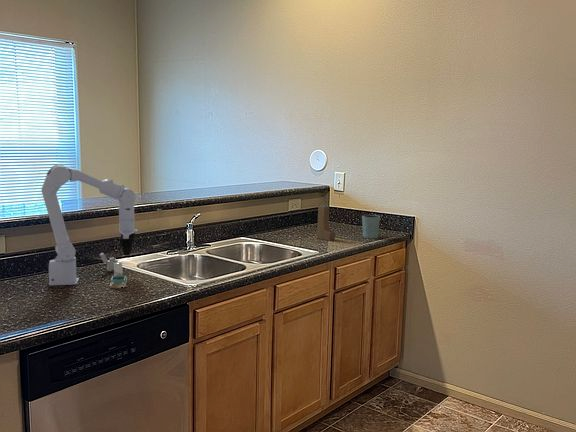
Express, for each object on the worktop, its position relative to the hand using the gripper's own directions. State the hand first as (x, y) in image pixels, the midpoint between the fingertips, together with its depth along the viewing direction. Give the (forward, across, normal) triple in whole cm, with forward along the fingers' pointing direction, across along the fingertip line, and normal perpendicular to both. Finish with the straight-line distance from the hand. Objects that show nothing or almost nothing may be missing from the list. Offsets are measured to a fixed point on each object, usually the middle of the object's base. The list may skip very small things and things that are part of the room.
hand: (127, 253), depth 219 cm
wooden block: (+10, +64, -100) cm, 119 cm away
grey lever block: (+10, +9, +8) cm, 16 cm away
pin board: (+9, -11, +3) cm, 15 cm away
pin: (+8, -11, +3) cm, 14 cm away
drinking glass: (+10, +68, -127) cm, 144 cm away
